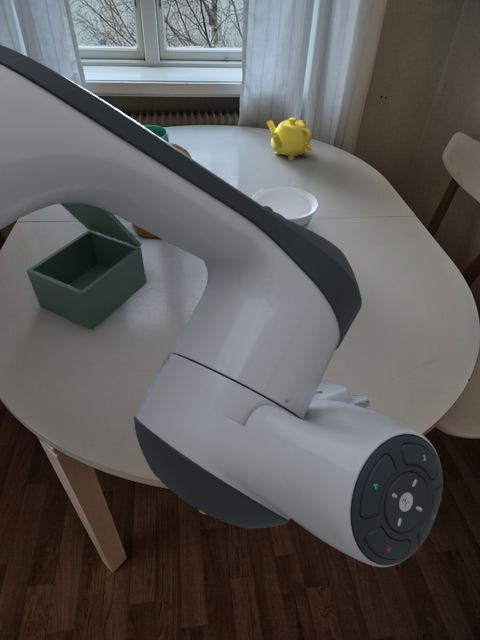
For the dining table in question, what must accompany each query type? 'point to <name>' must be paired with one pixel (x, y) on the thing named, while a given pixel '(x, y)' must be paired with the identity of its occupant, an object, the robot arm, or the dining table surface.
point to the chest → (88, 278)
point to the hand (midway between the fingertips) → (235, 418)
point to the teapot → (290, 137)
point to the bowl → (289, 203)
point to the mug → (158, 131)
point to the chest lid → (101, 222)
